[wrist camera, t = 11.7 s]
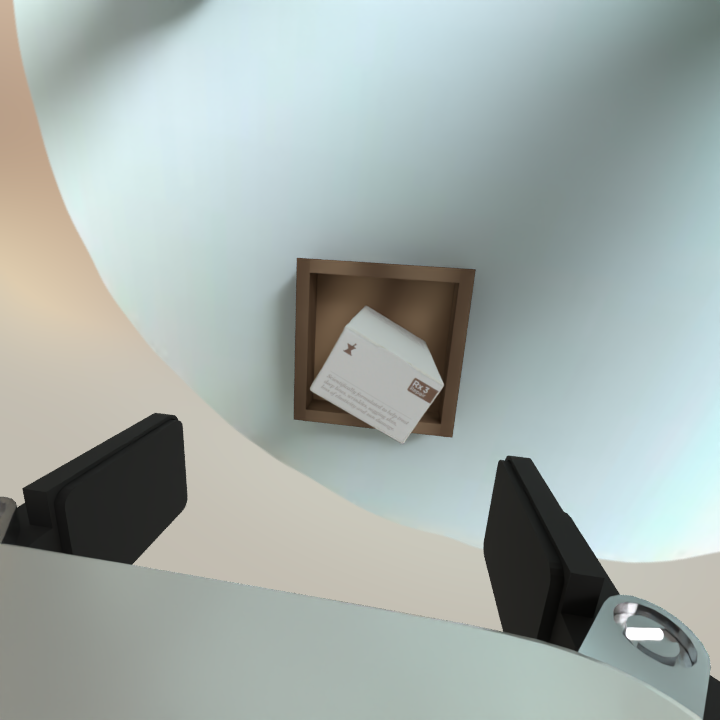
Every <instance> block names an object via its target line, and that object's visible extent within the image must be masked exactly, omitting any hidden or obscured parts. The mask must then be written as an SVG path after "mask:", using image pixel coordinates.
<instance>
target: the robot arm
mask: <svg viewBox="0 0 720 720" xmlns="http://www.w3.org/2000/svg"><path fill="white" fill-rule="evenodd" d="M23 494H24V499H25V503H24V504H22V505H21V506H19V507H18V508H17V505H16V502H15V501H14V500H13V499H11V498H7V497H0V720H720V681H718V680H717V679H715V678H713V677H712V676H711V675H710V669H711V666H710V659H709V655H708V653H707V651H706V650H705V648H704V646H703V644H702V643H701V642H700V640H699V639H698V638H697V637H696V636H695V634H694V633H693V632H692V631H691V630H690V629H689V628H688V627H687V626H685V625H684V624H683V623H682V622H681V621H680V620H678V619H677V618H676V617H674V616H673V615H672V614H670V613H668V612H667V611H666V610H664V609H663V608H661V607H659V606H657V605H655V604H653V603H650V602H648V601H646V600H643V599H640V598H637V597H634V596H628V595H620V594H619V592H618V591H617V589H616V588H615V586H614V584H613V583H612V581H611V580H610V578H609V577H608V575H607V574H606V572H605V570H604V569H603V567H602V566H601V564H600V562H599V561H598V559H597V558H596V556H595V555H594V553H593V551H592V550H591V548H590V547H589V545H588V544H587V542H586V540H585V539H584V537H583V536H582V534H581V533H580V531H579V529H578V528H577V526H576V525H575V523H574V522H573V520H572V518H571V517H570V516H569V515H568V514H567V513H565V512H564V511H563V510H562V508H561V507H560V505H559V503H558V502H557V500H556V499H555V497H554V495H553V494H552V492H551V491H550V489H549V487H548V486H547V484H546V483H545V481H544V479H543V478H542V476H541V475H540V473H539V471H538V470H537V468H536V466H535V465H534V463H533V462H532V460H531V459H530V458H523V457H515V456H507V457H506V459H505V461H504V460H500V461H499V462H498V466H497V472H496V477H495V483H494V488H493V494H492V499H491V505H490V510H489V516H488V522H487V527H486V533H485V538H484V557H485V561H486V565H487V569H488V573H489V577H490V581H491V585H492V589H493V593H494V597H495V601H496V605H497V609H498V613H499V617H500V621H501V624H502V628H503V632H501V631H497V630H492V629H487V628H482V627H478V626H473V625H469V624H463V623H458V622H452V621H447V620H441V619H436V618H430V617H425V616H419V615H414V614H408V613H403V612H397V611H392V610H386V609H381V608H375V607H370V606H364V605H358V604H353V603H347V602H342V601H336V600H330V599H325V598H318V597H313V596H307V595H302V594H296V593H290V592H285V591H279V590H273V589H267V588H262V587H256V586H250V585H244V584H239V583H233V582H227V581H221V580H216V579H210V578H204V577H199V576H193V575H187V574H181V573H175V572H170V571H164V570H158V569H152V568H147V567H141V566H135V565H132V564H133V563H134V562H135V561H136V560H137V559H138V558H139V557H140V556H141V555H142V553H143V552H144V551H145V550H146V549H147V548H148V547H149V546H150V545H151V544H152V543H153V542H154V541H155V539H156V538H157V537H158V536H159V535H160V534H161V533H162V532H163V531H164V530H165V529H166V528H167V527H168V526H169V525H170V524H171V523H172V521H173V520H174V519H175V518H176V517H177V516H178V515H179V514H180V513H181V512H182V510H183V509H184V508H185V506H186V503H187V484H186V469H185V454H184V440H183V426H182V423H181V421H178V418H177V417H176V416H175V415H168V414H160V413H154V414H152V415H150V416H149V417H147V418H145V419H143V420H142V421H140V422H138V423H136V424H135V425H133V426H131V427H130V428H128V429H126V430H124V431H122V432H121V433H119V434H117V435H115V436H114V437H112V438H110V439H108V440H106V441H105V442H103V443H102V444H100V445H98V446H96V447H94V448H92V449H91V450H89V451H87V452H85V453H84V454H82V455H80V456H79V457H77V458H75V459H73V460H71V461H70V462H68V463H66V464H64V465H63V466H61V467H59V468H57V469H56V470H54V471H52V472H50V473H49V474H47V475H45V476H43V477H42V478H40V479H38V480H36V481H35V482H33V483H31V484H30V485H28V486H26V487H24V488H23Z"/></svg>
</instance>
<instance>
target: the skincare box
mask: <svg viewBox="0 0 720 720" xmlns="http://www.w3.org/2000/svg"><path fill="white" fill-rule="evenodd" d="M443 386H444V383H443V381H442V379H441V377H440V374H439V372H438V370H437V367H436V365H435V363H434V361H433V358H432V356H431V353H430V351H429V349H428V347H427V344H426V342H425V341H424V340H422V339H420V338H419V337H417V336H415V335H414V334H412V333H411V332H409V331H407V330H406V329H404V328H402V327H401V326H399V325H398V324H396V323H394V322H393V321H391V320H389V319H388V318H386V317H385V316H383V315H381V314H380V313H378V312H376V311H375V310H373V309H372V308H370V307H368V306H364V308H363V309H362V310H361V311H360V312H359V313H358V314H357V315H356V316H355V317H354V318H353V319H352V320H351V321H350V323H348V324H347V325H346V326H345V327H344V329H343V331H342V333H341V335H340V337H339V339H338V340H337V342H336V344H335V346H334V348H333V349H332V351H331V353H330V355H329V357H328V358H327V360H326V362H325V364H324V365H323V367H322V369H321V370H320V372H319V374H318V375H317V377H316V378H315V380H314V381H313V383H312V385H311V387H310V390H311V391H312V392H313V393H315V394H317V395H319V396H320V397H322V398H324V399H326V400H327V401H329V402H331V403H332V404H334V405H336V406H338V407H339V408H341V409H343V410H345V411H346V412H348V413H350V414H351V415H353V416H355V417H357V418H358V419H360V420H362V421H364V422H365V423H367V424H369V425H371V426H372V427H374V428H376V429H377V430H379V431H381V432H382V433H384V434H386V435H388V436H389V437H391V438H393V439H395V440H396V441H398V442H399V443H401V444H404V442H405V441H406V440H407V438H408V437H409V435H410V434H411V432H412V431H413V429H414V428H415V426H416V425H417V424H418V422H419V421H420V419H421V418H422V416H423V415H424V413H425V412H426V411H427V409H428V408H429V406H430V405H431V404H432V402H433V401H434V399H435V398H436V397H437V395H438V394H439V392H440V391H441V390H442V388H443Z"/></svg>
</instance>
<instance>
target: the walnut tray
mask: <svg viewBox="0 0 720 720" xmlns="http://www.w3.org/2000/svg"><path fill="white" fill-rule="evenodd" d="M475 270H476V269H461V268H445V267H430V266H414V265H399V264H384V263H368V262H353V261H337V260H322V259H306V258H297V280H296V330H295V379H294V419H295V420H303V421H312V422H321V423H330V424H338V425H347V426H356V427H365V428H373V429H376V428H374V427H372V426H371V425H369V424H367V423H365V422H364V421H362V420H360V419H358V418H357V417H355V416H353V415H351V414H350V413H348V412H346V411H345V410H343V409H341V408H339V407H338V406H336V405H334V404H332V403H331V402H329V401H327V400H326V399H324V398H322V397H320V396H319V395H317V394H315V393H313V392H312V391H311V390H310V387H311V385H312V383H313V381H314V380H315V378H316V377H317V375H318V374H319V372H320V370H321V369H322V367H323V365H324V364H325V362H326V360H327V358H328V357H329V355H330V353H331V351H332V349H333V348H334V346H335V344H336V342H337V340H338V339H339V337H340V335H341V333H342V331H343V329H344V327H345V326H346V325H347V324H348V323H350V321H351V320H352V319H353V318H354V317H355V316H356V315H357V314H358V313H359V312H360V311H361V310H362V309H363V308H364V306H368V307H370V308H372V309H373V310H375V311H376V312H378V313H380V314H381V315H383V316H385V317H386V318H388V319H389V320H391V321H393V322H394V323H396V324H398V325H399V326H401V327H402V328H404V329H406V330H407V331H409V332H411V333H412V334H414V335H415V336H417V337H419V338H420V339H422V340H424V341H425V342H426V344H427V347H428V349H429V351H430V353H431V356H432V358H433V361H434V363H435V365H436V367H437V370H438V372H439V374H440V377H441V379H442V381H443V383H444V386H443V388H442V390H441V391H440V392H439V394H438V395H437V397H436V398H435V399H434V401H433V402H432V404H431V405H430V406H429V408H428V409H427V411H426V412H425V413H424V415H423V416H422V418H421V419H420V421H419V422H418V424H417V425H416V426H415V428H414V429H413V431H412V432H411V433H417V434H426V435H435V436H443V437H452V435H453V428H454V421H455V414H456V407H457V399H458V392H459V385H460V378H461V371H462V363H463V356H464V349H465V342H466V335H467V328H468V320H469V313H470V306H471V299H472V292H473V284H474V277H475Z"/></svg>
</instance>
